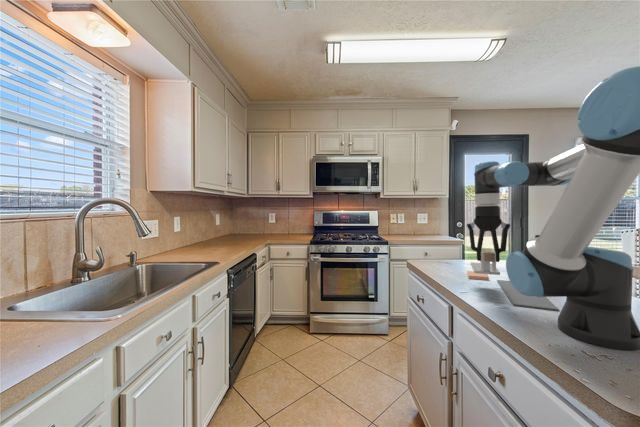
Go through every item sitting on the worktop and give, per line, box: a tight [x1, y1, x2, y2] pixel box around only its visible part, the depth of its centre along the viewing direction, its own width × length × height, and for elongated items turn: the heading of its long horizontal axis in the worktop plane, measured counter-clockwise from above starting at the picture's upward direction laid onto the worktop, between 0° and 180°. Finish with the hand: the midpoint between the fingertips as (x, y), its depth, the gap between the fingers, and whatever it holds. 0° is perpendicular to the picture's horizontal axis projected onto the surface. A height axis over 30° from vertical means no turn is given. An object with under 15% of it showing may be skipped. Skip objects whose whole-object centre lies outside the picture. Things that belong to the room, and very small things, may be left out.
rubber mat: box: [496, 279, 560, 312], centre depth 99 cm, size 30×12×1 cm, turn 154°
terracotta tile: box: [466, 270, 490, 281], centre depth 122 cm, size 2×8×9 cm
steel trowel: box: [470, 248, 501, 276], centre depth 100 cm, size 23×8×9 cm, turn 154°
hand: (488, 270), depth 93 cm, fingers closed on steel trowel, 3 cm apart
